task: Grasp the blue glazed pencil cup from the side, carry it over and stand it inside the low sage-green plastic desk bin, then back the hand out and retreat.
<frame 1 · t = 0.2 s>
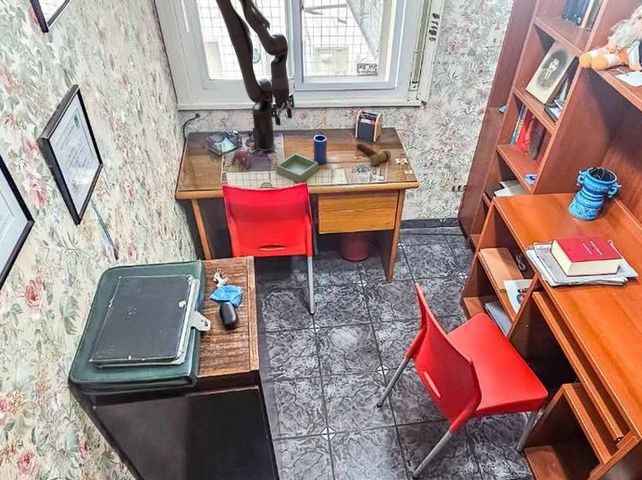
hand: (284, 121, 218), 17 cm above the table, tool pointing down, fingers open, 8 cm apart
pencil cup: (320, 161, 228), on the table
video game controller: (242, 164, 225), on the table
gavel: (369, 155, 234), on the table
bin: (297, 171, 222), on the table
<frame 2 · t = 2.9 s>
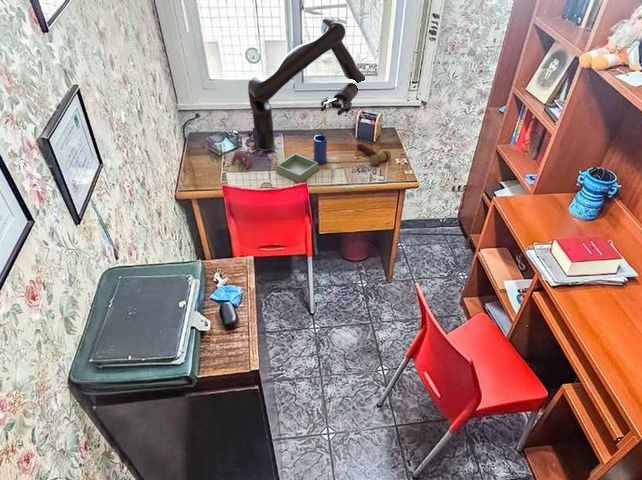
hand: (330, 111, 220), 20 cm above the table, tool horizontal, fingers open, 8 cm apart
nothing on the table moved.
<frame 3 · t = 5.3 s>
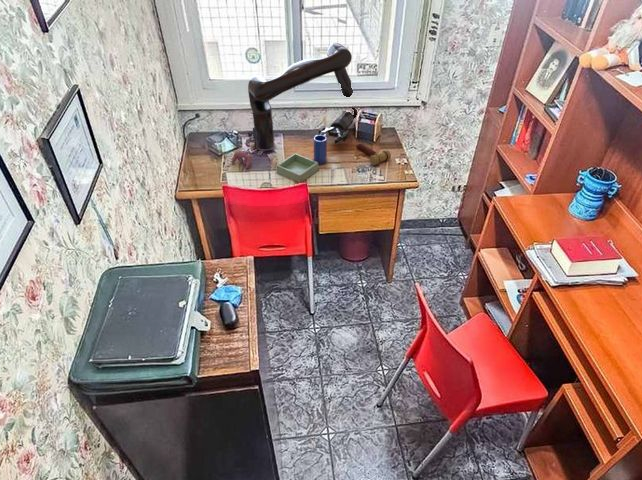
hand: (327, 140, 228), 7 cm above the table, tool horizontal, fingers open, 8 cm apart
nothing on the table moved.
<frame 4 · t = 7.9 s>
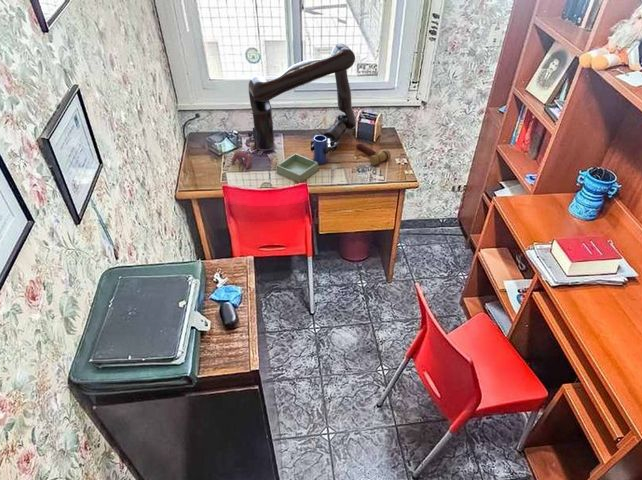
hand: (318, 151, 222), 7 cm above the table, tool horizontal, fingers closed on pencil cup, 6 cm apart
pencil cup: (320, 161, 228), on the table, touching gripper
everything else where it was.
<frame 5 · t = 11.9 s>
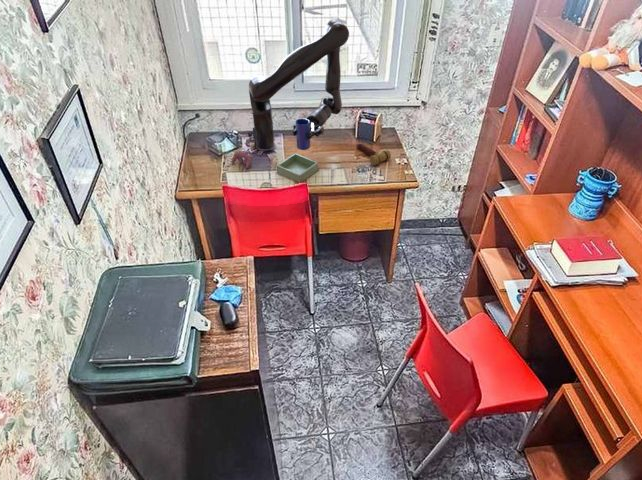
hand: (300, 135, 209), 18 cm above the table, tool horizontal, fingers closed on pencil cup, 6 cm apart
pencil cup: (303, 146, 215), point 11 cm above the table, touching gripper
everything else where it was.
when the fingers open (7 cm above the table, at t = 16.0 s): pencil cup stays where it is, resting on bin.
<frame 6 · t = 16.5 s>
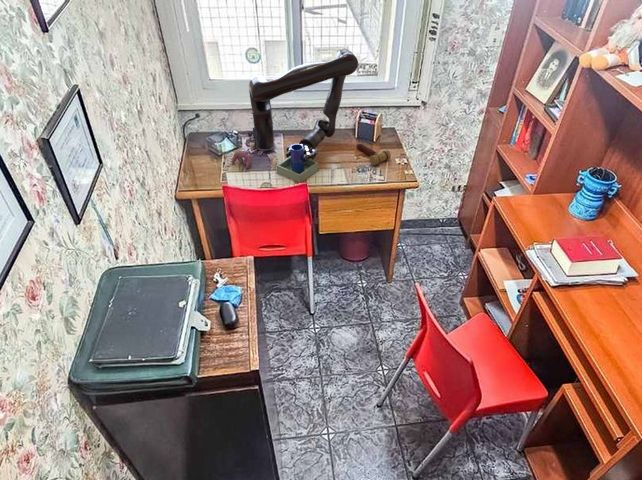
hand: (295, 158, 215), 8 cm above the table, tool horizontal, fingers open, 8 cm apart
pencil cup: (297, 170, 221), resting on bin
everything else where it was.
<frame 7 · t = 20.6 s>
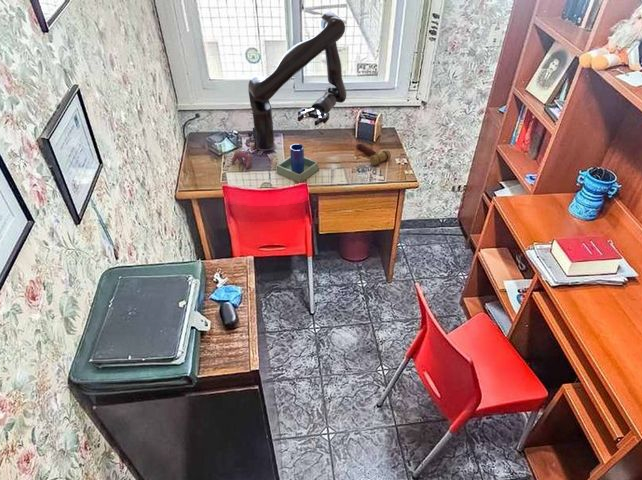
hand: (306, 121, 214), 20 cm above the table, tool horizontal, fingers open, 8 cm apart
nothing on the table moved.
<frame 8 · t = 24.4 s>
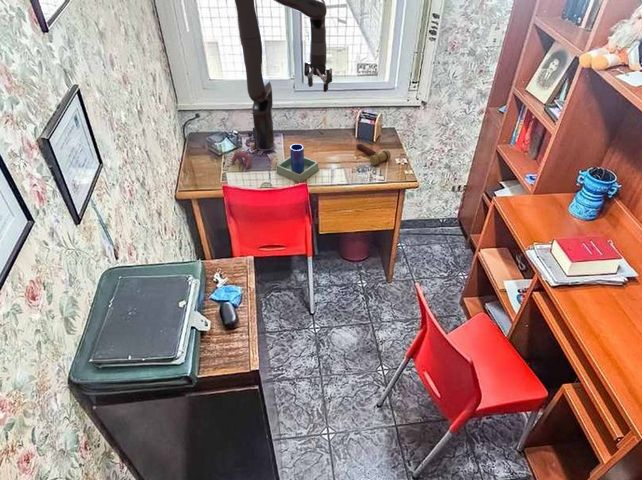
hand: (318, 88, 218), 28 cm above the table, tool pointing down, fingers open, 8 cm apart
nothing on the table moved.
at the end: pencil cup inside the target area in the bin (0.1 cm from its centre), point 0.5 cm above the bin's base; pencil cup tilted 0°; the gripper is holding nothing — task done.
